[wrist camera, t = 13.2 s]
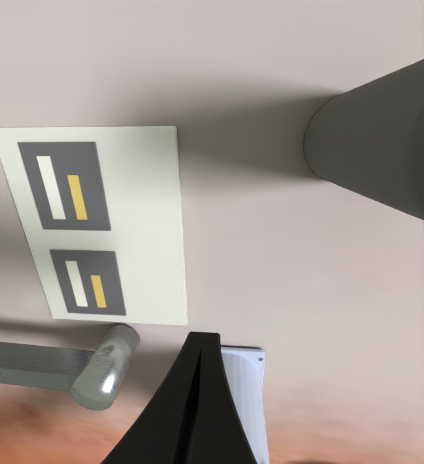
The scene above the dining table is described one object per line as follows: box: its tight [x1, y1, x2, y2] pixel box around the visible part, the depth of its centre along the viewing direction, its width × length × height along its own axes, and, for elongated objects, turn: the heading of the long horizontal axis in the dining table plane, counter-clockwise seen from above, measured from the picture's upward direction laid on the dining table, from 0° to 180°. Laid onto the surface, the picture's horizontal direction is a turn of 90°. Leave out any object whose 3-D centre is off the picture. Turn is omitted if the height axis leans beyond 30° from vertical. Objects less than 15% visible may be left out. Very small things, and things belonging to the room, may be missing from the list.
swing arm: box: [0, 325, 140, 410], centre depth 22 cm, size 23×4×6 cm, turn 87°
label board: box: [0, 126, 188, 325], centre depth 20 cm, size 18×14×1 cm
